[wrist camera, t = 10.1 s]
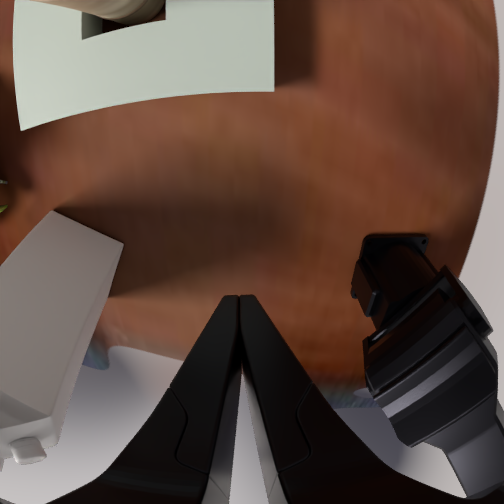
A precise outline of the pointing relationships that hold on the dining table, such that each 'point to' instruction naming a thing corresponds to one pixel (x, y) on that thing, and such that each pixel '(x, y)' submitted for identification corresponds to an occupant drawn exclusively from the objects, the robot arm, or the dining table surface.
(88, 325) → the milk carton
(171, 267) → the dining table surface
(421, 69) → the dining table surface
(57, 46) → the board
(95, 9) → the peg
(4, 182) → the passion flower
